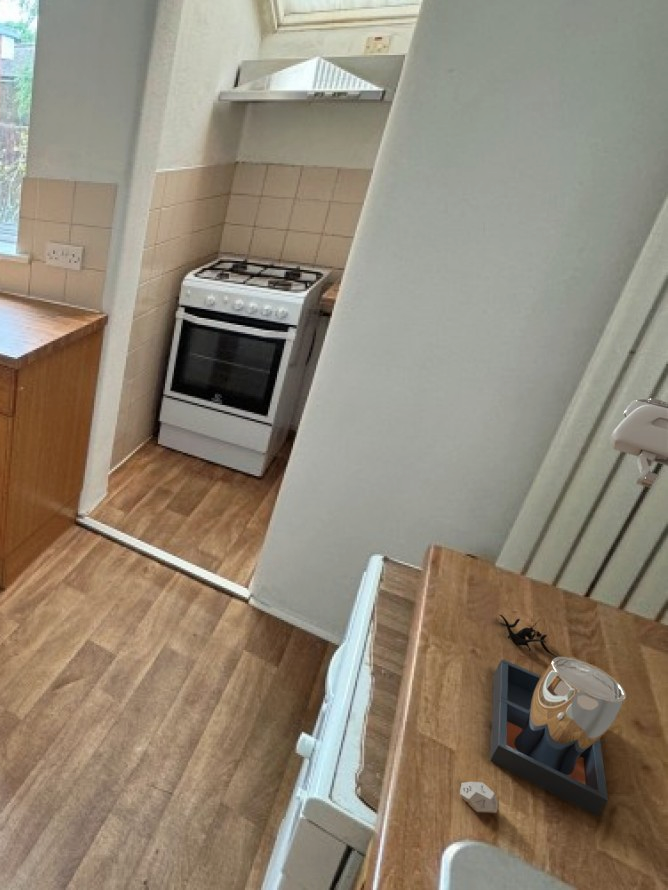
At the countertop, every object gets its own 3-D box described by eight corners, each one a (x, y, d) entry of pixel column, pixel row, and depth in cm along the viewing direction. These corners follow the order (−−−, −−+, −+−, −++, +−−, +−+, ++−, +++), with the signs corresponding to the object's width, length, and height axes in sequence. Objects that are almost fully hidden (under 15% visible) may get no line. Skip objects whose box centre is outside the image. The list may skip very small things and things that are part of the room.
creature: (504, 626, 105) (481, 630, 102) (520, 601, 104) (496, 604, 101) (561, 661, 99) (538, 666, 95) (579, 635, 97) (556, 640, 94)
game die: (492, 802, 77) (501, 787, 75) (493, 827, 74) (502, 811, 73) (456, 784, 79) (464, 769, 78) (456, 807, 76) (464, 791, 75)
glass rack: (493, 675, 94) (501, 658, 93) (584, 716, 88) (595, 699, 87) (488, 763, 81) (498, 745, 80) (595, 819, 75) (608, 800, 74)
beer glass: (585, 795, 77) (639, 712, 71) (513, 766, 80) (559, 685, 75) (567, 750, 82) (615, 670, 77) (500, 725, 86) (542, 646, 80)
